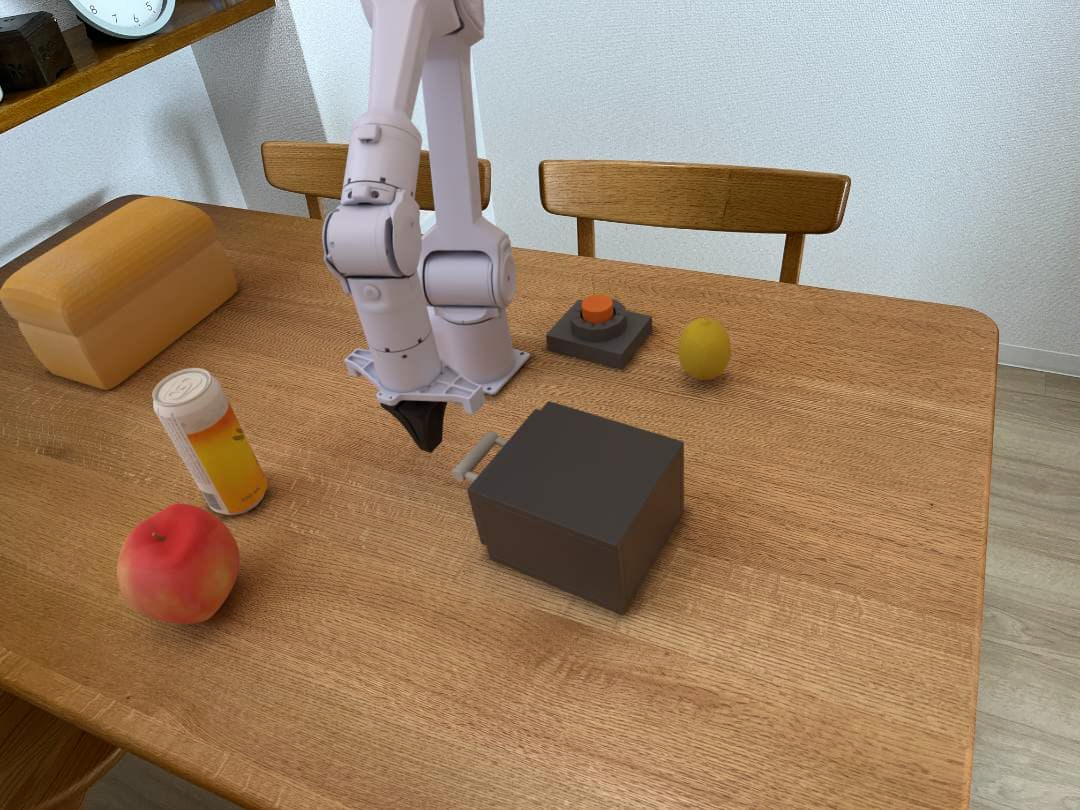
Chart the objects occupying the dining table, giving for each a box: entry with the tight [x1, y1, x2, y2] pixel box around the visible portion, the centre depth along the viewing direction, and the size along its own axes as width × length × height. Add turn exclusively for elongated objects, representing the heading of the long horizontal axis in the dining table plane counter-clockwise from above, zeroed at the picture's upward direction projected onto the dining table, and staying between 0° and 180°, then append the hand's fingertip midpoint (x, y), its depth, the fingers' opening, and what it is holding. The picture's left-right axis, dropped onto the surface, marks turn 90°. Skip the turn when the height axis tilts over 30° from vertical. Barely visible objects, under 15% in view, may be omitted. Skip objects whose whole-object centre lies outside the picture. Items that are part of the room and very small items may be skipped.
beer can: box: [151, 367, 268, 516], centre depth 79 cm, size 6×6×15 cm
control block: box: [545, 298, 653, 370], centre depth 95 cm, size 10×8×4 cm
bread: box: [0, 195, 238, 391], centre depth 106 cm, size 24×13×15 cm, turn 153°
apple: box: [116, 503, 240, 625], centre depth 70 cm, size 10×10×10 cm
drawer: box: [450, 408, 541, 546], centre depth 73 cm, size 17×11×7 cm
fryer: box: [473, 400, 685, 616], centre depth 71 cm, size 14×13×9 cm
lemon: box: [677, 317, 732, 381], centre depth 86 cm, size 6×6×8 cm
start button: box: [581, 294, 613, 324], centre depth 94 cm, size 4×4×2 cm
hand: (431, 444), depth 79 cm, fingers closed
